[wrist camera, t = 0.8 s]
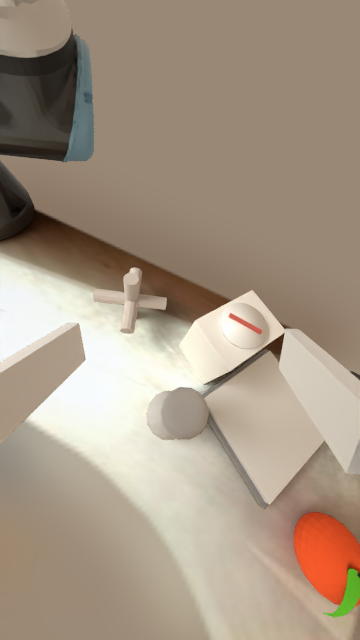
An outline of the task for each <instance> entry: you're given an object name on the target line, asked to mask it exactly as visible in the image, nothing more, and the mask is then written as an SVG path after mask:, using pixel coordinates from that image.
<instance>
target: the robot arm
mask: <svg viewBox="0 0 360 640" xmlns="http://www.w3.org/2000/svg"><path fill="white" fill-rule="evenodd" d="M92 99H93V98H92V75H91V62H90V52H89V47H88V45H87V43H86V41H84V40H83V39H81V38H80V37H79V36H77V35H76V34H75V35H73V31H72V24H71V19H70V14H69V12H68V9H67V6H66V4H65V3H64V1H63V0H0V155H10V156H18V157H28V158H38V159H47V160H56V161H62V162H67V161H87V160H88V159H90V158H91V157H92V155H93V152H94V115H93V102H92ZM34 212H35V209H34V205H33V203H32V200H31V198H30V196H29V194H28V192H27V191H26V189H25V188H24V187H23V185H22V184H21V183H20V182H19V181H18V180H17V179H16V178H15V176H14V175H13V174H12V173H11V172H10V171H9V170H8V169H7V167H6V166H5V165H4V164H3V163H2V162H1V161H0V240H3V239H6V238H9V237H11V236H13V235H15V234H17V233H19V232H21V231H22V230H23V229H25V228H26V227H27V226H28V225H29V224H30V222H31V221H32V219H33V217H34ZM85 360H86V359H85V354H84V348H83V343H82V337H81V332H80V326H79V323H67V324H65V325H64V326H62V327H60V328H58V329H57V330H55V331H53V332H51V333H50V334H48V335H46V336H45V337H43V338H41V339H39V340H38V341H36V342H34V343H32V344H31V345H29V346H27V347H26V348H24V349H22V350H20V351H19V352H17V353H15V354H13V355H12V356H10V357H8V358H7V359H5V360H3V361H1V362H0V444H1V443H2V442H3V441H4V440H5V439H6V438H7V437H8V436H9V435H10V434H11V433H12V432H13V431H14V430H15V429H16V428H17V427H18V426H19V425H20V424H21V423H22V422H23V421H24V420H25V419H26V418H27V417H28V416H29V415H30V414H31V413H32V412H33V411H34V410H35V409H36V408H37V407H38V406H39V405H40V404H41V403H42V402H44V401H45V400H46V399H47V398H48V397H49V396H50V395H51V394H52V393H53V392H54V391H55V390H56V389H57V388H58V387H59V386H60V385H61V384H62V383H63V382H64V381H65V380H66V379H67V378H68V377H69V376H70V375H71V374H72V373H73V372H74V371H75V370H76V369H77V368H78V367H79V366H80V365H81V364H82V363H83V362H84V361H85ZM279 370H280V371H281V373H282V374H283V376H284V377H285V379H286V380H287V382H288V384H289V385H290V387H291V388H292V390H293V391H294V393H295V395H296V396H297V398H298V399H299V401H300V402H301V404H302V405H303V407H304V409H305V410H306V412H307V413H308V415H309V416H310V418H311V419H312V421H313V423H314V424H315V426H316V427H317V429H318V430H319V432H320V433H321V435H322V437H323V438H324V440H325V441H326V443H327V444H328V446H329V447H330V449H331V451H332V452H333V454H334V455H335V457H336V458H337V460H338V461H339V463H340V465H341V466H342V468H343V469H344V471H345V472H346V474H357V475H360V375H358V374H356V373H354V372H350V371H348V370H347V369H345V368H344V367H343V366H342V365H341V364H340V363H338V362H337V361H336V360H335V359H334V358H333V357H331V356H330V355H329V354H328V353H327V352H325V351H324V350H323V349H322V348H321V347H319V346H318V345H317V344H316V343H315V342H314V341H312V340H311V339H310V338H309V337H308V336H306V335H305V334H304V333H303V332H302V331H300V330H299V329H285V335H284V340H283V346H282V352H281V357H280V363H279Z"/></svg>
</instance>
